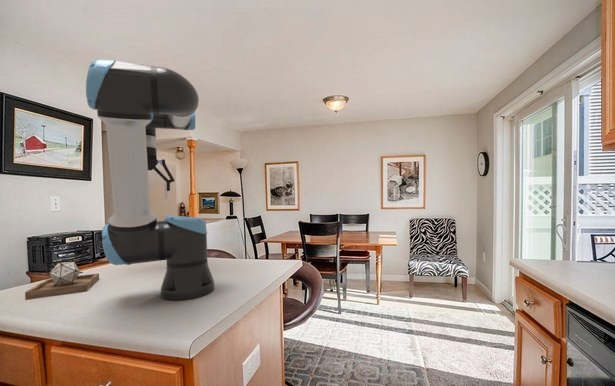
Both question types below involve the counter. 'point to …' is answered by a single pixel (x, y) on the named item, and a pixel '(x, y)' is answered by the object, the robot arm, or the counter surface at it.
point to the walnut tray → (62, 287)
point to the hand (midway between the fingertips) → (147, 199)
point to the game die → (64, 273)
